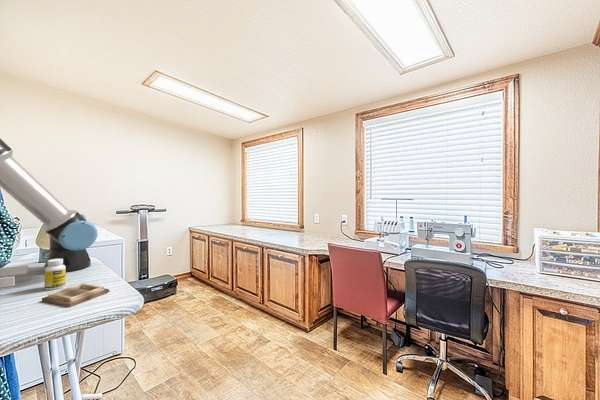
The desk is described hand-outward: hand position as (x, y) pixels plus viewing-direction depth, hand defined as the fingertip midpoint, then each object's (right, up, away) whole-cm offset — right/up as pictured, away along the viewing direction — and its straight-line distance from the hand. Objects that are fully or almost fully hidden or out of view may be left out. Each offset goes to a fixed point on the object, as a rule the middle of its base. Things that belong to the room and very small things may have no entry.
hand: (21, 274), depth 87 cm
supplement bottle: (+7, -6, +5) cm, 10 cm away
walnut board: (+20, -7, -2) cm, 21 cm away
